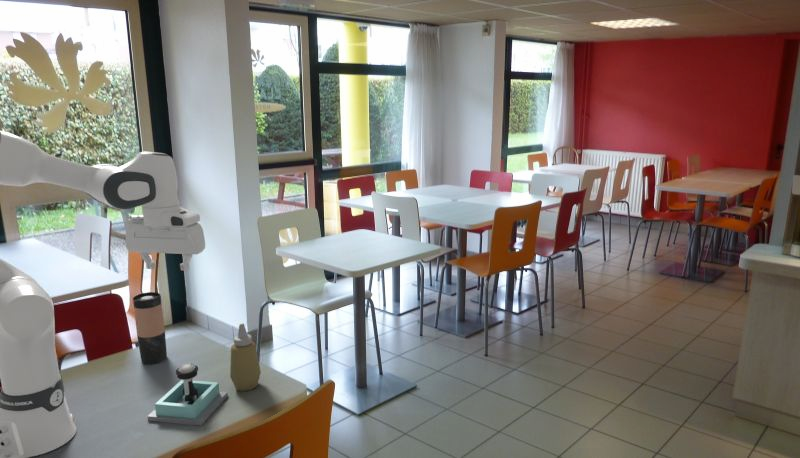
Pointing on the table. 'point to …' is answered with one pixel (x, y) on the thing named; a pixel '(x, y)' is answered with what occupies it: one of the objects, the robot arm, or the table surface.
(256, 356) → the squeeze bottle
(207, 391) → the socket plate
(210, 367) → the table surface
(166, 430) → the table surface
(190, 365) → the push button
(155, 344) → the travel mug
